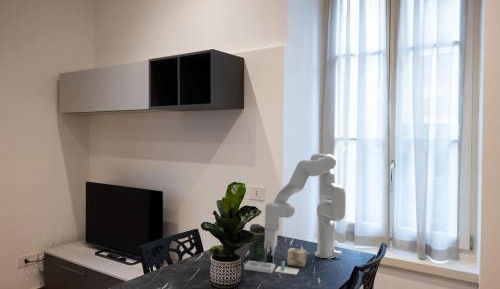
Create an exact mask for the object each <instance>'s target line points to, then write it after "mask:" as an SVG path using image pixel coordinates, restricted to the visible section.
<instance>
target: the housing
mask: <svg viewBox="0 0 500 289" xmlns="http://www.w3.org/2000/svg"><path fill="white" fill-rule="evenodd" d="M286 263H287V264H286V265H290V266H295V267H305V266H306V263H307V249H302V248H294V247H293V248H292V247H290V248H288V250H287V257H286Z"/></svg>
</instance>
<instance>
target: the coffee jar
mask: <svg viewBox="0 0 500 289" xmlns="http://www.w3.org/2000/svg"><path fill="white" fill-rule="evenodd" d="M250 232H252V233H254V234H255V236H256V237H257V241H256V242H254V243H252V244H250V243H249V247H248V248H249V249H248V256H249V258H250V259H252V261H257V260H264V259H265V255H266V254H265V253H266V252H265V251H266V249H264V242H265V232H266V230H265V226H262V225H261V224H259V223H254V224H253V223H252V224H251V225H250V226H249V233H250Z"/></svg>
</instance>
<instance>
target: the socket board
mask: <svg viewBox="0 0 500 289" xmlns="http://www.w3.org/2000/svg"><path fill="white" fill-rule="evenodd" d="M243 270H244V271H248V270H249V271H255V272H261V273H266V274H267V273H268V274H273V271H275V270H276V263H274V264H271V263H268V262H262V261H257V260H248V261H247V262H246V264H244V268H243Z"/></svg>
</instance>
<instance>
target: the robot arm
mask: <svg viewBox="0 0 500 289" xmlns="http://www.w3.org/2000/svg"><path fill="white" fill-rule="evenodd" d="M336 165H337V159H336V157H335V156H334V155H332V154H329V153H314V154H312V155H311V157H310V159H309V160H307V159H303V160H300V161H299V162H298V163H297V165H296V167H295V169H294V171H293V173H292V175H291V177H290V179H289V181H288V183H287V184H286V185H285V186H284V187H283V188H282V189H281V190H280V191H279V192H278V193H277V195H276V196H275V199H274V201H273V202H272V203H271V202H270V203H266V205H265V209H264V210H265V212H264V213H265V214H264V215H265V216H264V227H265V242H264V249H265V250H266V263H273V255H272V254H273V249H274V261H275V260H276V248H277V246H278V232H279V230H280V218H286V219H287V218H288V219H289V218H291V217H292V216H294V214H295V206H294V205H292V204H290V203H288V202H287V201H288V200H289V199H290V198H291V197H292V196H293V195H295V194H297V193H299V192H300V193H301V191H303V189H304V187H305V185H306V183H307V181H308V180H309V177H317V176H319V196H320V197H321V198H322V199H324V200H326V201H320V202H319V204H318V205H317V207H316V214H317V250H316V251H315V252H314V257H316V256H317V257H316V258H318V257H320V258H319V259H321V258H334V257H336V256H341V257H342V255H343V252H342V251H341V250H336V247H335V232H336V231H335V230H336V225H335V222H341V221H343V219H344V218H345V216H346V192H345V188H344V187H343V186H341V185H339V184H336V180H335V178H336V176H335V171H334V168H335V167H336ZM270 248H272V249H270ZM335 255H336V256H335ZM336 258H337V257H336Z"/></svg>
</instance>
